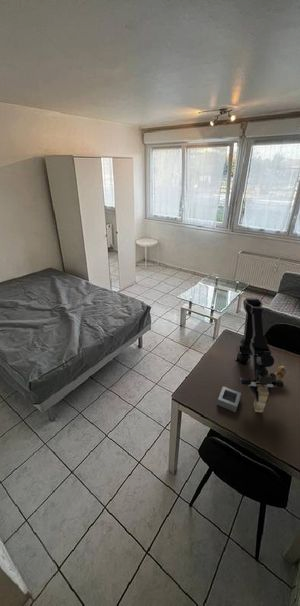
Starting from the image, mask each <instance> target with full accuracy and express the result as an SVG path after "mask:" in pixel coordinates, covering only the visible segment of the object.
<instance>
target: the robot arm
mask: <svg viewBox="0 0 300 606" xmlns="http://www.w3.org/2000/svg"><path fill="white" fill-rule="evenodd" d="M242 303H243V304H242V305H243V309H244V311H245V314H246V315H245V322H244V331H243V338H242V339H240V341H239V345H236V353H237V354H236V355H237V356H236V358H235V359H234V360H235V361H236V362H237V363H239V364H240V365H241V366H246V365H247V364H249V363H250V362H251V356H252V360H253V369H252V371H253V378H252V379H251V378H247V377H246V378H245V377H240V378H239V379H238V384H239V385H244V386H247V387H248V388H249V389H250V390H251V392H252V394H253V397H254V400H255V399H256V401H257V402H258V392H257V391H258V388H259V386H257V385H261V386H262V385H264V386H263V387H267V389H268V392H269V395H268V398H267V401H266V403H268V400H269V396H270V394H271V392H272V390H273V389H275V388H276V387H279V388H285V385H284V381H283V380H278V379H277V380H276V374H275V373H276V372H274V373H273V372H271V373H269V370H268V369H267V368H270V367H272V366H274V363H275V358H274V357H273V356H272V350H271V348H270V346H269V344H268V341H267V338H266V336H265V335H264V325H263V310H264V309H263V304H264V303H263V302H262V300H260V299H259V298H257V297H246V298H245V299H244V300H243V302H242Z"/></svg>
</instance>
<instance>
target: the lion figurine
mask: <svg viewBox="0 0 300 606" xmlns="http://www.w3.org/2000/svg"><path fill="white" fill-rule="evenodd" d="M274 373H275V374H276V380H280V381H282V379H283V378H284V376H285V375H286V373H287V368H286V367H285V366H284V365H281V366H278V367H277V370H276V372H274ZM264 386H265V385H262V384H261V387H264Z"/></svg>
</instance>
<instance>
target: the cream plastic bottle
mask: <svg viewBox="0 0 300 606" xmlns="http://www.w3.org/2000/svg"><path fill="white" fill-rule="evenodd" d="M257 392H258V402H257V401H256V399H255V398H254V402H253V409H254V411H255V413H263V412H264V411H265V410H264V409H265V406H266V404H267V402H268V400H267V398H268V399H269V397H268V395H269V396H270V394H269V392H268V389H267V387H264V386H263V387H262V386H258V388H257ZM266 401H267V402H266Z"/></svg>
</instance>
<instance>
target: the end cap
mask: <svg viewBox="0 0 300 606" xmlns="http://www.w3.org/2000/svg"><path fill="white" fill-rule="evenodd" d="M241 395H242V392H240V391H237V390H234V389H232V388H228V387H226V386H222V388H221V391H220V393H219V396H218V398H217V403H216V405H217V406H218V407H222V408H224V409H225V410H229V411H231V412H234V413H236V412H237V409H238V406H239V402H240V400H241Z"/></svg>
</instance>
